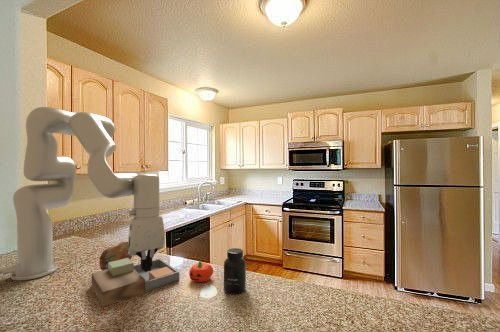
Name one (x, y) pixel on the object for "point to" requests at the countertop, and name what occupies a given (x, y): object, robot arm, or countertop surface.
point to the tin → (114, 254)
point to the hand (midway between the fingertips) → (146, 270)
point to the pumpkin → (200, 272)
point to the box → (160, 280)
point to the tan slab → (117, 286)
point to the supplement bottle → (234, 272)
